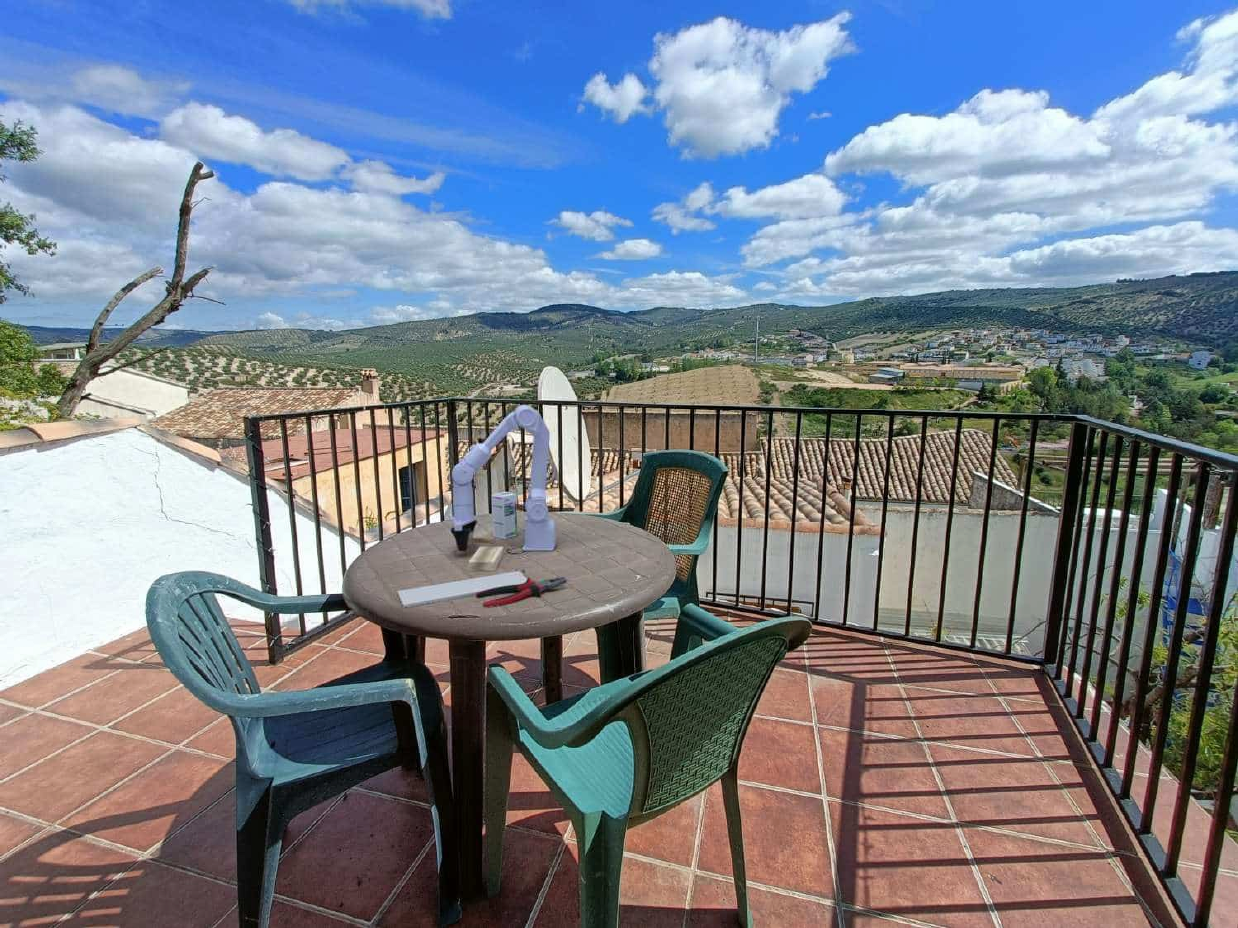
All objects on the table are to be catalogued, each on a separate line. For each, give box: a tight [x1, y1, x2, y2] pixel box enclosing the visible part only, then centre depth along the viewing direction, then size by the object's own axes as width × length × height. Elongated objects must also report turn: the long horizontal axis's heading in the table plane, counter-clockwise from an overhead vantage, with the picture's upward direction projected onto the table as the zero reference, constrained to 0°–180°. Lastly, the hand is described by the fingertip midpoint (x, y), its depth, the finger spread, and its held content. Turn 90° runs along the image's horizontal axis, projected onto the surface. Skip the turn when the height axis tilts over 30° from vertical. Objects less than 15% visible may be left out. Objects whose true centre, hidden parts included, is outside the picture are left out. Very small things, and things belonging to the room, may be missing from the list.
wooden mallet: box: [455, 531, 496, 555], centre depth 172 cm, size 11×4×6 cm, turn 91°
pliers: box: [475, 576, 568, 608], centre depth 141 cm, size 3×9×22 cm
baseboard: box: [396, 569, 532, 609], centre depth 144 cm, size 31×3×12 cm
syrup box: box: [491, 491, 518, 540], centre depth 189 cm, size 6×6×14 cm
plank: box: [468, 546, 505, 572], centre depth 163 cm, size 7×14×2 cm, turn 1°
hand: (465, 547), depth 173 cm, fingers open, 5 cm apart
